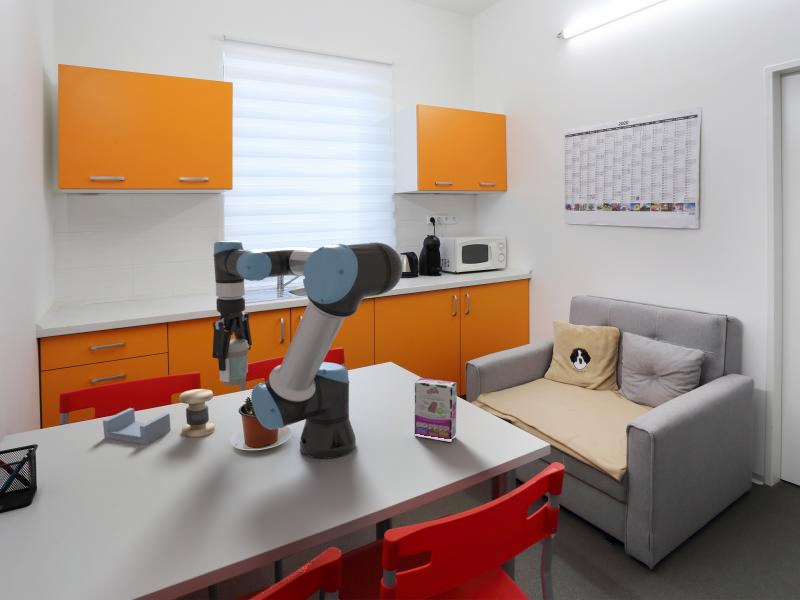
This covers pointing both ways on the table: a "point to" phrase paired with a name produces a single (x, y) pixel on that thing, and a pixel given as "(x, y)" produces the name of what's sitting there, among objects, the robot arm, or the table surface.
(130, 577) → the table surface
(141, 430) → the u-shaped channel bracket
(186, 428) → the bobbin
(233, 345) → the coffee cup
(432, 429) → the candy bar box
